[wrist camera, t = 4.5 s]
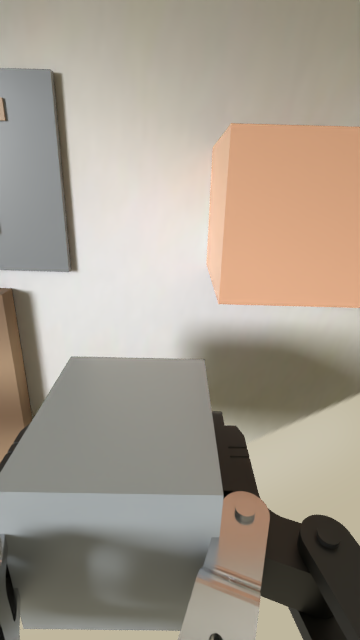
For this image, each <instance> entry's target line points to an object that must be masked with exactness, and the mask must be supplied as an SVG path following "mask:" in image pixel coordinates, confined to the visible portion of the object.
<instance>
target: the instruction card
mask: <svg viewBox="0 0 360 640" xmlns="http://www.w3.org/2000/svg"><path fill="white" fill-rule="evenodd" d="M0 270H22V271H56V272H70V271H71V265H70V254H69V243H68V232H67V221H66V210H65V199H64V187H63V176H62V165H61V154H60V143H59V132H58V121H57V110H56V99H55V87H54V76H53V71H51V70H49V69H16V68H0Z"/></svg>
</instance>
